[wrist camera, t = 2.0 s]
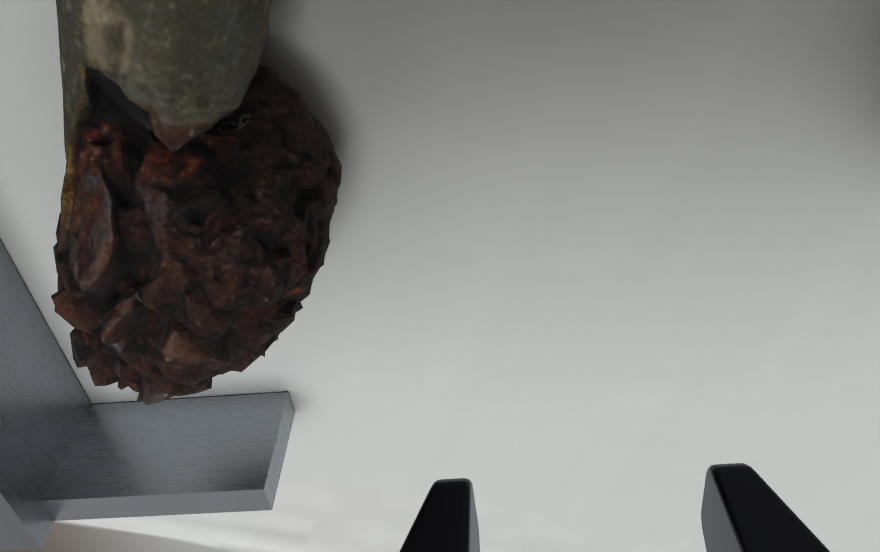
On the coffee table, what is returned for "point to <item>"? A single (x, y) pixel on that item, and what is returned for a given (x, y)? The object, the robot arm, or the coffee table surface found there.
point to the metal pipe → (183, 192)
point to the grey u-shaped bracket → (118, 440)
